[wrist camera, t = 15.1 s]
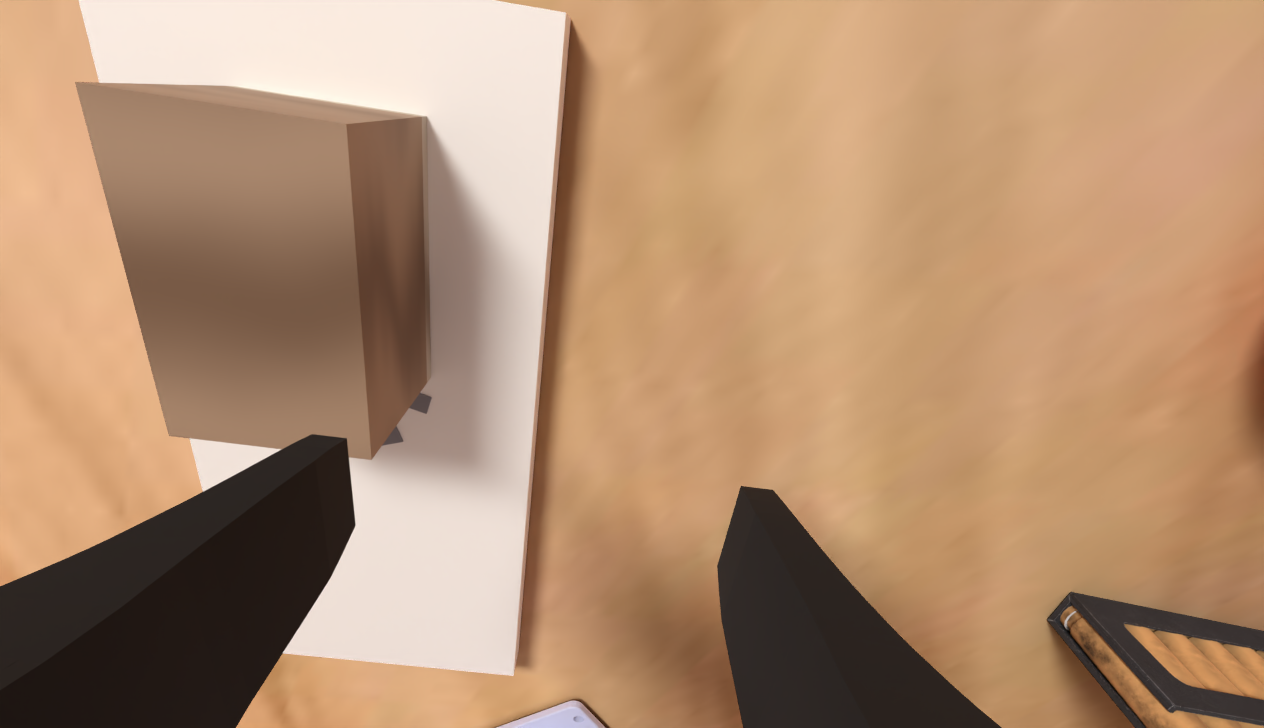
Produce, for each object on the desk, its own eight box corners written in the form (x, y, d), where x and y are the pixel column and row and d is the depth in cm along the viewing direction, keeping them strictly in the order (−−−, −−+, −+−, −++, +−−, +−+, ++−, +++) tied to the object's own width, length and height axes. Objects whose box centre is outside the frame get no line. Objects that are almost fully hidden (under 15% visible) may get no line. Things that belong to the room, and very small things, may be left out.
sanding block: (430, 377, 18) (371, 460, 14) (276, 357, 18) (168, 436, 14) (427, 116, 15) (346, 123, 11) (235, 86, 14) (75, 82, 10)
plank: (518, 651, 26) (513, 676, 25) (259, 625, 26) (242, 650, 24) (570, 18, 15) (565, 12, 14) (103, -62, 14) (57, -75, 13)
